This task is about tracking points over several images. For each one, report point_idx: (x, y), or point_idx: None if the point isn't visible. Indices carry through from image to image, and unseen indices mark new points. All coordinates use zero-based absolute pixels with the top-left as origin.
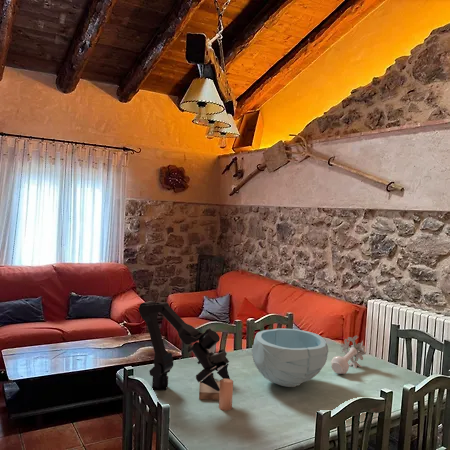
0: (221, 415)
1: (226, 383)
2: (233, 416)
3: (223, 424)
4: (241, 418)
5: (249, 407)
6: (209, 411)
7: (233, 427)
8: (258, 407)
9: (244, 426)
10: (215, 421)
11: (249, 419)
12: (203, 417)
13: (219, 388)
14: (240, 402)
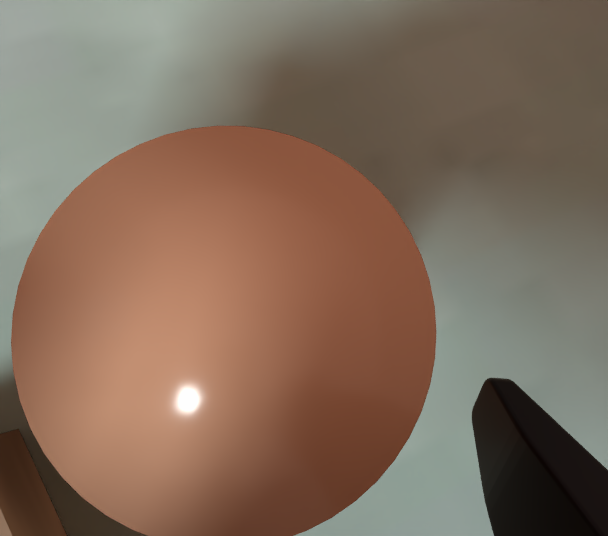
0: (448, 301)
1: (387, 255)
2: (395, 175)
3: (602, 200)
4: (389, 86)
5: (92, 94)
6: (440, 475)
7: (594, 93)
8: (41, 4)
9: (517, 9)
10: (599, 300)
11: (363, 9)
12: (602, 462)
13: (503, 393)
14: (8, 236)
